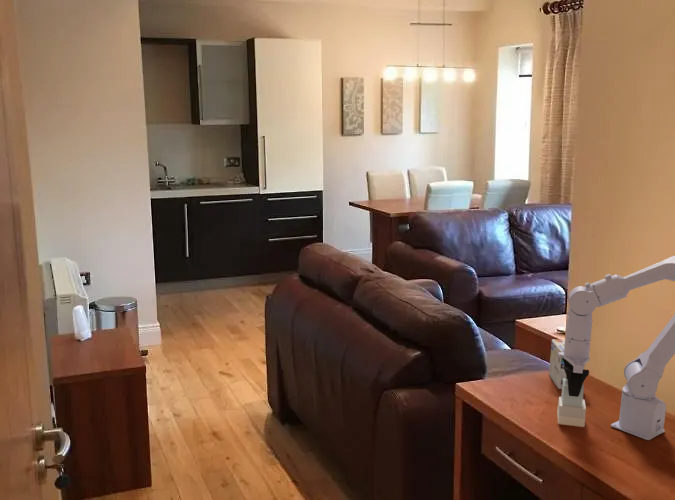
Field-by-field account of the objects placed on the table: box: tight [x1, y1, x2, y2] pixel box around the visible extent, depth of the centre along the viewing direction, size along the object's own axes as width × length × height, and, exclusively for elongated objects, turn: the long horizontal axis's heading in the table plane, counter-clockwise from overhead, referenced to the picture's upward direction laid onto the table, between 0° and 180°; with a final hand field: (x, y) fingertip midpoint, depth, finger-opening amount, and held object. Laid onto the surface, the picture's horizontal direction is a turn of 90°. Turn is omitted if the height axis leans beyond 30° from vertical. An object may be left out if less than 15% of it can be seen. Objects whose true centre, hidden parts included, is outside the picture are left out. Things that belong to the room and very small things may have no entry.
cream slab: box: [556, 408, 586, 428], centre depth 179 cm, size 6×6×2 cm
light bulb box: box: [548, 339, 586, 390], centre depth 203 cm, size 11×7×11 cm, turn 179°
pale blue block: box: [560, 378, 585, 407], centre depth 178 cm, size 4×4×5 cm
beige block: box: [557, 396, 587, 420], centre depth 179 cm, size 6×6×2 cm
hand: (572, 391), depth 178 cm, fingers open, 5 cm apart
